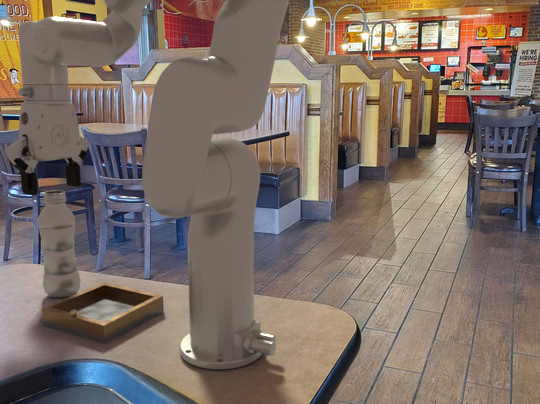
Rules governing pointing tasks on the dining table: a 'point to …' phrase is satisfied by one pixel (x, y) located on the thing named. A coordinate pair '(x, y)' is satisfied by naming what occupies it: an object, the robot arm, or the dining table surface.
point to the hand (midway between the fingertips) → (52, 190)
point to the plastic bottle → (58, 246)
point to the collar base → (102, 312)
